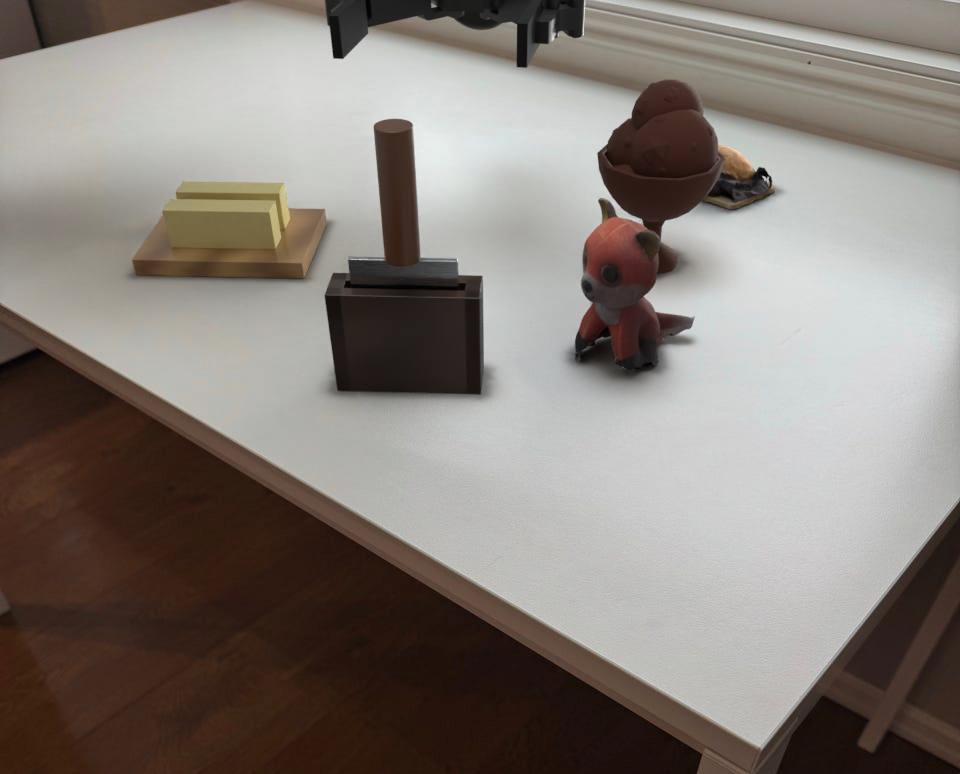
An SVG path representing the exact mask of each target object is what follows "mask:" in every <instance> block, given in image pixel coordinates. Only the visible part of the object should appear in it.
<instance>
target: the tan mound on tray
mask: <svg viewBox="0 0 960 774" xmlns="http://www.w3.org/2000/svg"><path fill="white" fill-rule="evenodd" d="M718 151H719V152H720V153H721V154H722V155H723V156H724V157H725V158H726V160H725V163H724V166H723V169H722V171H721V174H720V177H719V178H718V180H717V181H716V183H715V185H714V186H713V188H712V189H711V191H710V192H709V193H708V194H707V196H706V197H705V198H704V199H703V201H704V203H708V202H709V203H712V204H713V205H714V204H715V205H718V206H719V207H721V208H723V209H724V208H725V209H728V210H730V211H731V210H735V209H740V208H741V207H744V206H746V205H749V204H753V203H754V201H757V200H759V201H760V200H762V199H763V198H764V197H766V196H768V195H770V194H773V193H774V192H776V191H775V190H776V186H775V185H773V180H772V175H770V174H769V173H768V171H767V170H766V168H765V167H762V166H758V168H757V169H756V170H755V168H754V167H753V165H752V163H751V162H750V161H749V160H748V158H746V157H745V156H744V155H743V154H742V153H741V152H740V151H738V150H736V149H735V148H732V147H729V146H726V145H720V144H718ZM765 178H766V179H765ZM767 180H768V181H767Z"/></svg>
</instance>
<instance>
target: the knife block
mask: <svg viewBox="0 0 960 774" xmlns="http://www.w3.org/2000/svg"><path fill="white" fill-rule="evenodd" d="M458 279H459V290H413V289H365V288H351V283H350V274H349V272H332V273H331V276H330V279H329V282H328V285H327V287H326V290H325V293H324V303H325V309H326V310H325V311H326V318H327V323H328V332H329V339H330V340H329V341H330V346H331V353H332V355H331V356H332V362H333V370H334V376H335V383H336V384H335V385H336V390H337V392H372V393H373V392H375V393H378V392H379V393H408V394H409V393H410V394H411V393H413V394H415V393H416V394H449V395H481V394H482V389H483V388H482V387H483V381H484V372H485V347H484V346H485V344H484V340H485V339H484V337H485V336H484V335H485V334H484V333H485V331H484V276H483V275H471V274H470V275H468V274H462V275H461V274H458Z"/></svg>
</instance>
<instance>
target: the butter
mask: <svg viewBox="0 0 960 774" xmlns="http://www.w3.org/2000/svg"><path fill="white" fill-rule="evenodd" d="M175 196H176V198H170V199H169V200H168V202H166V204H165V206H164V207H163V208H162V210H161V211H162V216H164V220H165V224H166V228H167V232H168V236H169V240H170V244H171V247H172V248H218V249H272V250H275V249H276V248H277V246H278V244H279V241H280V239H281V232H280V230H285V229H286V226H287V224H288V222H289V220H290V215H289V208H290V207H289V202H288V196H287V189H286V184H285V182H259V181H257V182H254V181H253V182H251V181H250V182H249V181H247V182H246V181H189V180H188V181H186V180H183V181H182V182H181V183H180V185H179V186H178V188H177V189H176V191H175Z"/></svg>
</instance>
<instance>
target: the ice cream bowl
mask: <svg viewBox="0 0 960 774" xmlns="http://www.w3.org/2000/svg"><path fill="white" fill-rule="evenodd" d="M718 145H719V139H718V135H717V133H716V131H715V128H714V127H713V126H712V124H711V123H710V122H709V121H708V120H707V119H706V117H705V116H704V107H703V102H702V99H701V98H700V95H699V94H698V92H697V90H696V89H695V88H693V86H691V85H690V84H689V83H687V81H686V82H685V81H682V80H680V79H676V78H671V79H669V78H667V79H666V78H665V79H662V80H659V81H656V82H652V83H650V84H649V85H648V87H647V88H645V89H644V90H642V92H641V94H640V95H639V96H638V97H637V99H636V100H635V103H634V105H633V108H632V110H631V116H630V117H629V118H627V119H626V120H624V122H622V123H621V124H620V125H619V126H618V127H616V128H614V129H613V130H612V133H611V135H610V137H609V138H608V140H607V144H605V145H604V146H603V147H601V149H600V150H599V151H597V153H596V154H597V163H598V164H597V165H598V171H599V174H600V177H601V180H602V182H603V185H604V187H605V188H606V190H607V192H608V193H609V195H610V196H611V198H612V199H613V200H614V202H616V204H617V205H618V207H620V209H621V210H622V211H624V212H625V213H627V214H628V215H630V216H632V217H635V218H637V219H640V220H641V222H642V225H643V226H645V227H646V228H647V229H648V230H651V231H653V232H655V233H656V234H657V235H658V236H659V237H660V239H661V241H660V249H659V251H658V257H659V265H658V270H657V275H659V274H663V273H668V272H671V271H674V269H675V268H676V267H677V265H678V264H679V257H678V255H677V254H676V252H675V251H674V249H673V248H671V247H670V246H668V245H667V244H664V243H663V242H662V233H663V231H662V230H663V226H664V224H665V222H666V221H669V220H674V219H678V218H681V217H682V216H684V215H686V214H688V213H690V212H691V211H692V210H694V209H695V208H696V207H697V206H699V205H700V204H701V203H702V202H703V201H704V198H705V197H706V196H707V194H708V193H709V192H710V191H711V189H712V188H713V186H714V185H715V183H716V181H717V180H718V178H719V177H720V174H721V171H722V169H723V166H724V163H725V160H726V158H725V157H724V156H723V155H722V154H721V153H720V152H719V151H718Z"/></svg>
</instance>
